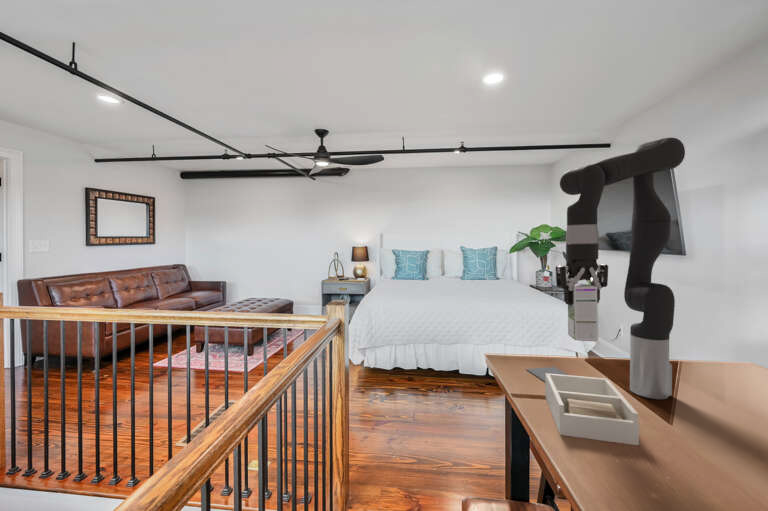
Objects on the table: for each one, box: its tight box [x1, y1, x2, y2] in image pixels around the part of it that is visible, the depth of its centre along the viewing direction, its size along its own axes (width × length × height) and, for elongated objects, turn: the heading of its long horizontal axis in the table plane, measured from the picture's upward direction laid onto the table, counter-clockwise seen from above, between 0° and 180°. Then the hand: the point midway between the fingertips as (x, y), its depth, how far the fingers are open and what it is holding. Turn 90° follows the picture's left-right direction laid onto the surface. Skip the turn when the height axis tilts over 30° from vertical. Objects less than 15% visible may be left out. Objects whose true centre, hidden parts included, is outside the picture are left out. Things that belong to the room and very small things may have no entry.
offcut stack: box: [567, 399, 623, 420], centre depth 82 cm, size 5×12×6 cm, turn 73°
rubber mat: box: [525, 366, 569, 383], centre depth 117 cm, size 11×11×1 cm
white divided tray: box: [544, 373, 640, 446], centre depth 88 cm, size 21×16×7 cm
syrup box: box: [567, 283, 599, 342], centre depth 91 cm, size 6×6×14 cm
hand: (581, 303), depth 91 cm, fingers closed on syrup box, 7 cm apart
